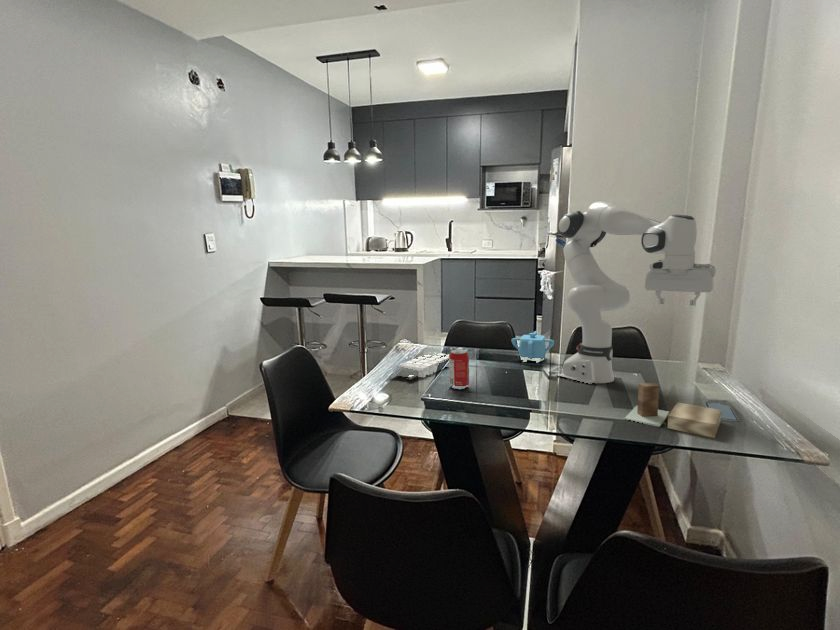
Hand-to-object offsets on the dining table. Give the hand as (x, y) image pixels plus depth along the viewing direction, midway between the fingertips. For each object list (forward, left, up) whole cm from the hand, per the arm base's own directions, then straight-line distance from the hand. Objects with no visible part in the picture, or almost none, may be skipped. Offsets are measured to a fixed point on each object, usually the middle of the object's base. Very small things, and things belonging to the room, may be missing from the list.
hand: (676, 304), depth 154 cm
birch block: (+10, -20, -34) cm, 41 cm away
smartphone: (+15, -3, -35) cm, 38 cm away
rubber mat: (-3, -21, -34) cm, 40 cm away
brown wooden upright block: (-3, -21, -34) cm, 39 cm away
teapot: (-65, +27, -34) cm, 78 cm away
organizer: (-96, -19, -35) cm, 104 cm away
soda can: (-69, -30, -34) cm, 83 cm away
